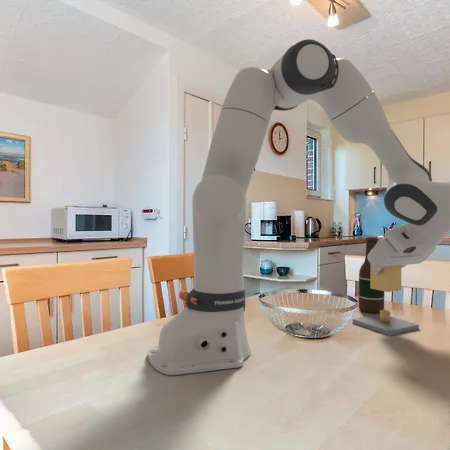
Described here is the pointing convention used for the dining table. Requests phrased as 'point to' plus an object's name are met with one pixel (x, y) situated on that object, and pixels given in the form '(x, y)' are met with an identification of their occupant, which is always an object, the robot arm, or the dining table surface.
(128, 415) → the dining table surface
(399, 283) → the tan toy brick
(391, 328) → the plate
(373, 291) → the beer bottle
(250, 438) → the dining table surface
